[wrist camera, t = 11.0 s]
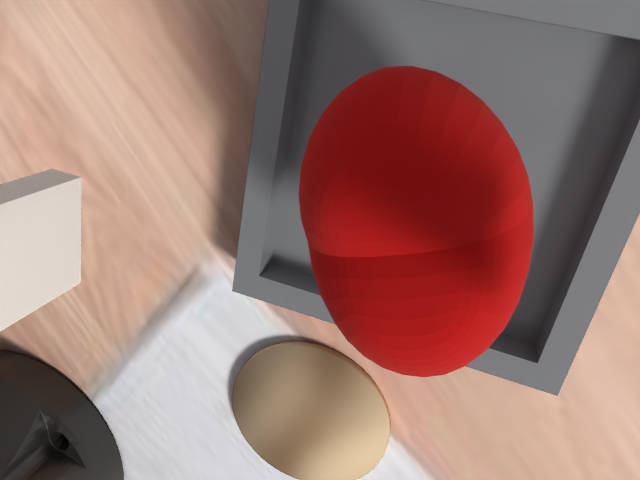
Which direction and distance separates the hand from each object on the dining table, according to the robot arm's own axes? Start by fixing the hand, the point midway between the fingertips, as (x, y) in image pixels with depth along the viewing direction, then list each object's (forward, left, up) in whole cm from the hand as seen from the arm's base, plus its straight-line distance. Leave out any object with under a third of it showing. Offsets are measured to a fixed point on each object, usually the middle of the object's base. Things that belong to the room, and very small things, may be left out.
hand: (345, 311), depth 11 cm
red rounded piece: (0, 0, -13) cm, 13 cm away
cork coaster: (-3, -15, -13) cm, 20 cm away
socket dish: (0, 0, -13) cm, 13 cm away
